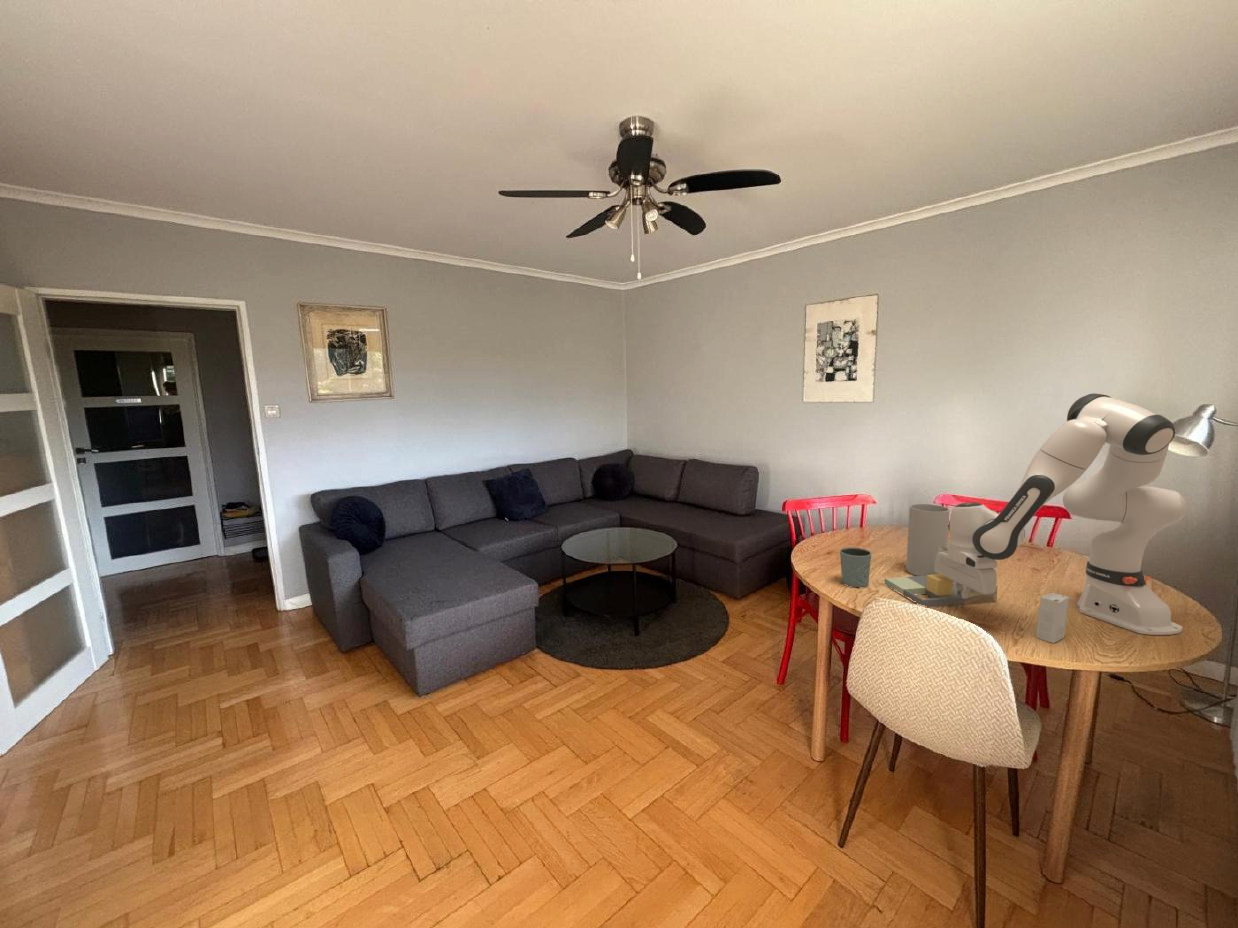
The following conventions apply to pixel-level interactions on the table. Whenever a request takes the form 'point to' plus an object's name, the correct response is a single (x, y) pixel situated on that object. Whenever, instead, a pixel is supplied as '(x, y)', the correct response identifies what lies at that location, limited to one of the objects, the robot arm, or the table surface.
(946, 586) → the ochre block
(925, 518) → the cylinder vase
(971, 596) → the brown wooden open box
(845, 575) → the teal cup
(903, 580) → the grey tray
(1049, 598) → the skincare box
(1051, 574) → the table surface
